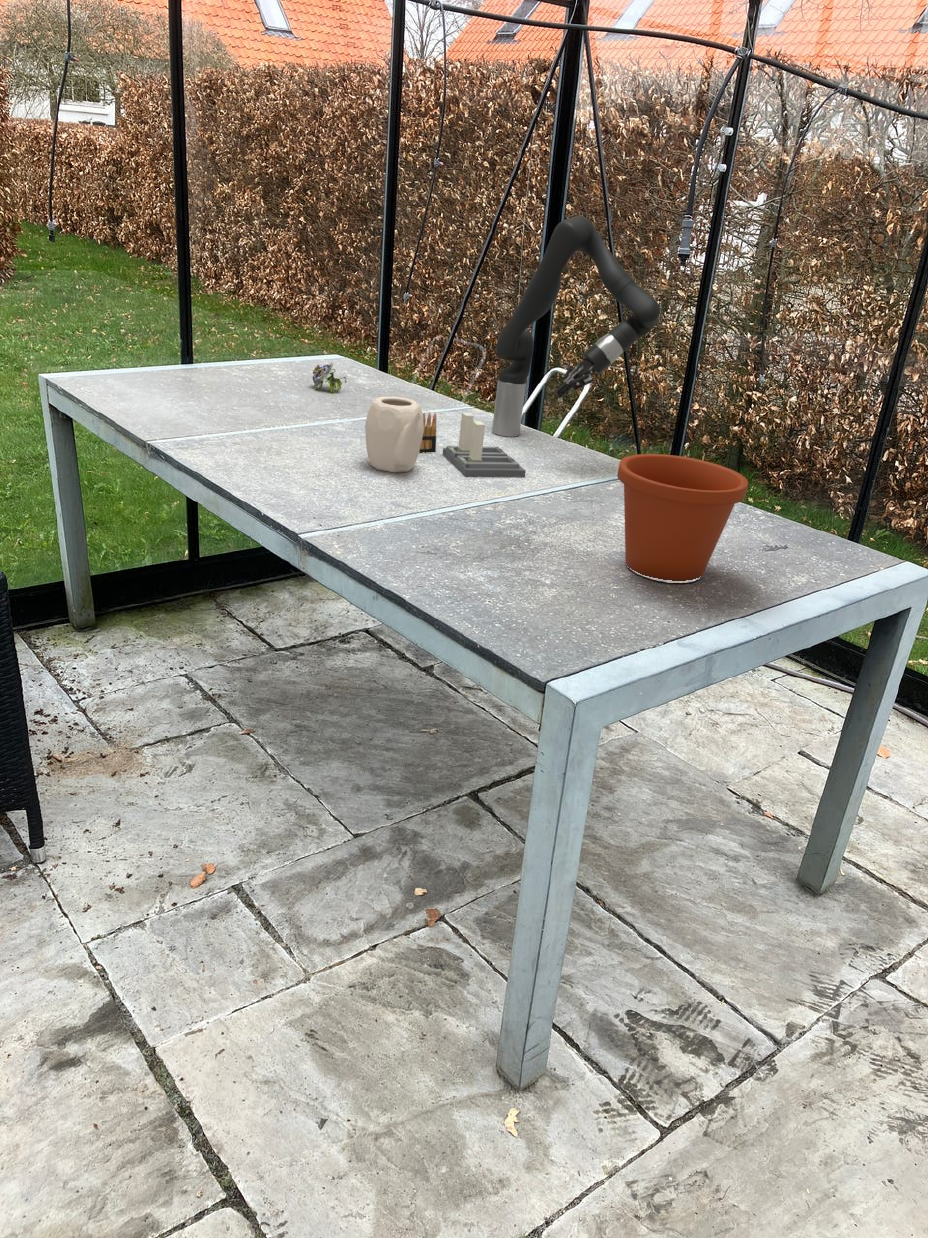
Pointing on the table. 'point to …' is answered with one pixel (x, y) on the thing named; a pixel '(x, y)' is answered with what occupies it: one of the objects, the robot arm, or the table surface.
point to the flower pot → (675, 512)
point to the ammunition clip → (429, 435)
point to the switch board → (485, 463)
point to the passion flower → (326, 377)
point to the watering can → (394, 433)
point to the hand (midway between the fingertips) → (557, 394)
